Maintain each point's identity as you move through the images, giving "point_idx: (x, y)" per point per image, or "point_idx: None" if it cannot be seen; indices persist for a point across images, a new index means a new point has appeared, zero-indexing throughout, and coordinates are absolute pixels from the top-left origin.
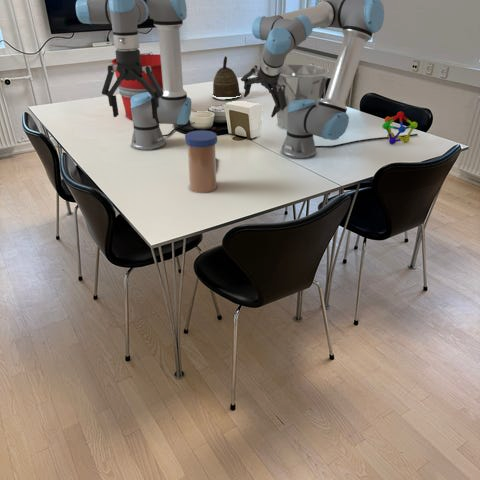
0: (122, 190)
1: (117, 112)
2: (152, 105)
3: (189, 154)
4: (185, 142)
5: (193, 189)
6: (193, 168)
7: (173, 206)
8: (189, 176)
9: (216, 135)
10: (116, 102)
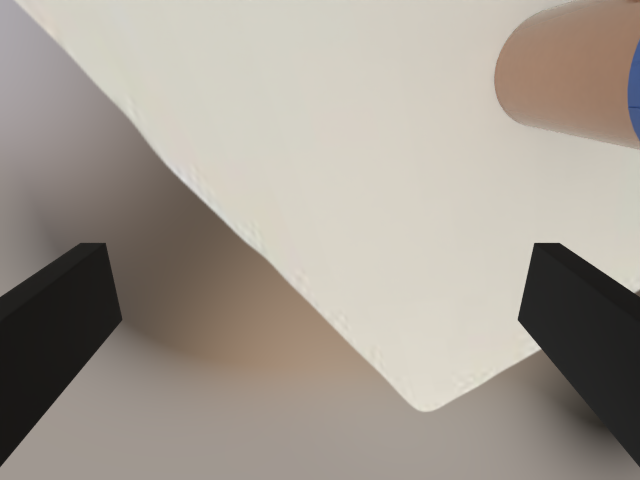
0: (232, 146)
1: (93, 279)
2: (623, 431)
3: (600, 121)
4: (630, 109)
5: (513, 118)
6: (573, 132)
7: (446, 242)
8: (520, 94)
9: None
10: (3, 336)
